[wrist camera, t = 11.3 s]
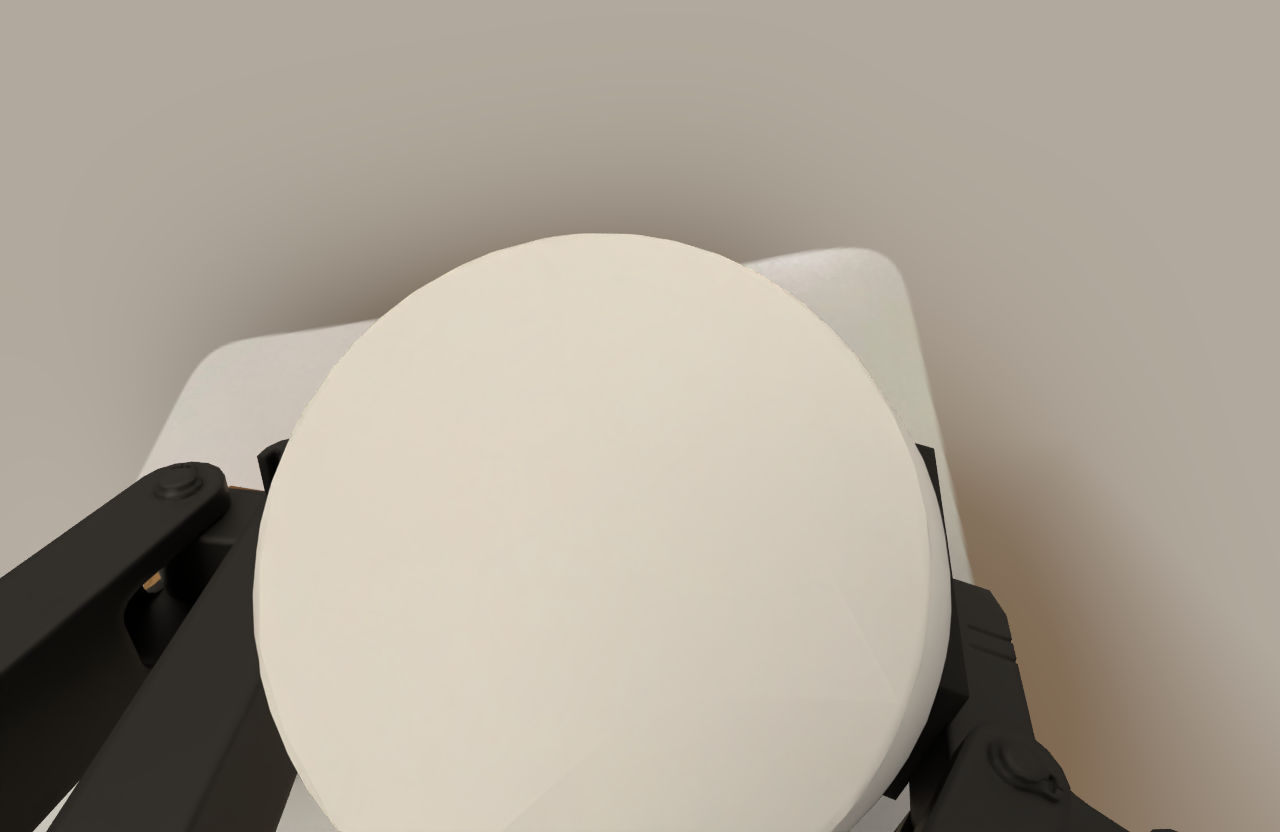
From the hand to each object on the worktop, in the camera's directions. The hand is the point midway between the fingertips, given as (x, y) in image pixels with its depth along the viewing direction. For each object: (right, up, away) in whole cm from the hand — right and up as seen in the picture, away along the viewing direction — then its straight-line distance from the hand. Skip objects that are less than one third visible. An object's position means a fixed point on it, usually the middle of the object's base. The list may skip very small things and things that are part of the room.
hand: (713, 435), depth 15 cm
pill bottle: (-1, -4, +4) cm, 6 cm away
